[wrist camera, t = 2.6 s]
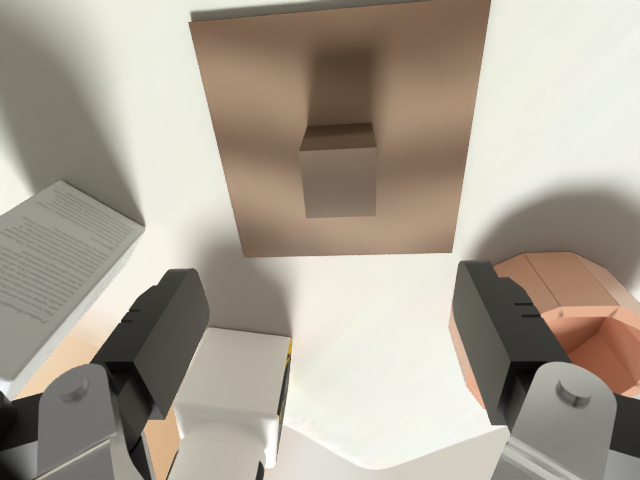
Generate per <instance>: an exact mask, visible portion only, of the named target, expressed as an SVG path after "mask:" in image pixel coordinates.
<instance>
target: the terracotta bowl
mask: <svg viewBox="0 0 640 480" xmlns="http://www.w3.org/2000/svg"><path fill="white" fill-rule="evenodd" d="M493 268H494V270H495V272H496V273H497V275H498V277H509V278H511V279H512V280H513V281H515V282H516V283H517V284H518V285H520V286H521V287H522V288H524V289H525V291H526V292H527V294H528V295H529V297H530V298H531V300H532V302H533V305H534V306H536V308H537V309H538V311H539V312H540V314H541V318H544V320H545V322H546V323H547V325H548V326H549V328H550V329H551V331H552V332H553V334H554V335H555V337H556V338H557V340H558V341H559V343H560V345H561V346H562V348H563V349H564V351H565V352H566V354H567V355H568V357H569V358H570V360H571V361H572V363H573V364H574V365H577V366H579V367H582V368H584V369H586V370H588V371H590V372H591V373H593V374H595V375H596V376H597V377H599V378H600V379H601V380H602V381H603V382H604V383H605V384H606V385H607V386H608V387H609V388H610V390H611V391H612V392H614V393H616V394H620V395H623V396H627V397H633V396H635V395H636V394H638V393H640V303H639V302H638V301H637V300H636V299H635V298H634V297H633V296H632V295H631V294H630V293H629V291H628V290H627V289H626V288H625V287H624V286H623V285H622V284H621V283H620V282H619V281H618V280H617V279H616V278H615V277H614V276H613V275H612V274H611V273H610V272H609V271H608V270H607V269H606V268H604V267H602V266H600V265H598V264H596V263H594V262H592V261H590V260H588V259H586V258H584V257H582V256H580V255H578V254H575V253H573V252H571V251H570V252H538V253H522V254H520V255H517V256H515V257H513V258H510V259H508V260H506V261H503V262H501V263H499V264H496V265H494V266H493ZM449 331H450V334H451V338H452V341H453V344H454V347H455V351H456V354H457V357H458V360H459V364H460V367H461V370H462V373H463V377H464V380H465V383H466V386H467V387H468V389H469V390H470V391H471V393H472V394H473V395H474V397H475V398H476V399H477V401H478V402H479V403H480V405H481V406H482V407H483V408H484V409H486V408H485V405H484V402H483V400H482V397H481V394H480V391H479V388H478V386H477V383H476V380H475V377H474V374H473V371H472V369H471V366H470V363H469V360H468V357H467V355H466V352H465V349H464V346H463V343H462V340H461V338H460V335H459V332H458V329H457V326H456V324H455V320H454V316H453V302H452V309H451V315H450V322H449Z"/></svg>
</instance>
